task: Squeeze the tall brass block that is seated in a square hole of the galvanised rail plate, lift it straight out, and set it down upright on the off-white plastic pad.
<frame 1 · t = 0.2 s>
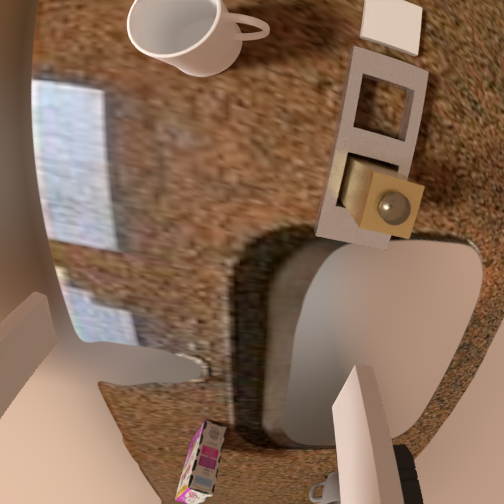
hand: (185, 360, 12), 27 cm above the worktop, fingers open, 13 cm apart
rail plate: (370, 148, 33), on the worktop
brass block: (362, 180, 35), resting in rail plate
candy bar box: (207, 432, 58), on the worktop
pad: (391, 22, 26), on the worktop
mug 2: (331, 474, 64), on the worktop
mug: (219, 44, 30), on the worktop
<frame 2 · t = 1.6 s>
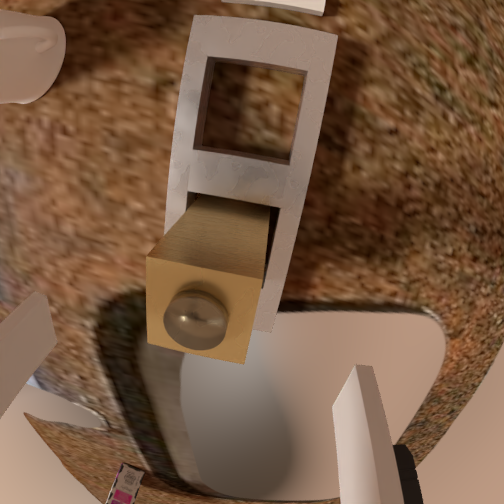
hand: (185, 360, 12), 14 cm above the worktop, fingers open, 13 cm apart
rail plate: (240, 177, 22), on the worktop
brass block: (232, 229, 24), resting in rail plate
candy bar box: (130, 472, 48), on the worktop
mug: (45, 57, 19), on the worktop
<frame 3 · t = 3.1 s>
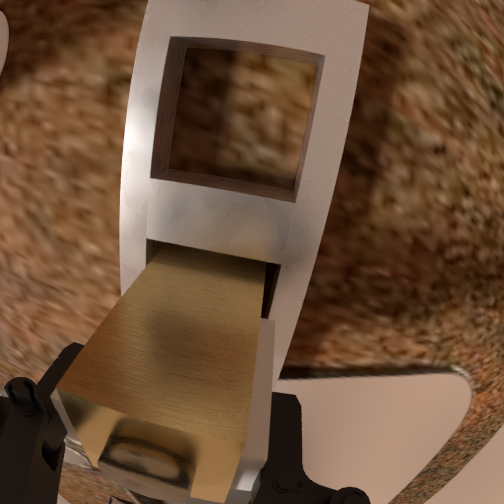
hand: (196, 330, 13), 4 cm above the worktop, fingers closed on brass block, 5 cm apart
rail plate: (224, 214, 16), on the worktop
brass block: (214, 283, 17), resting in rail plate, touching gripper
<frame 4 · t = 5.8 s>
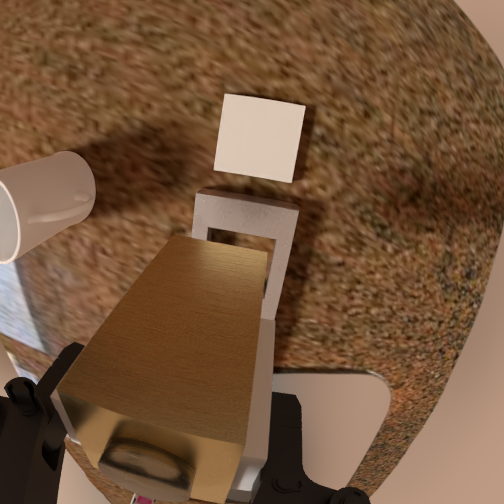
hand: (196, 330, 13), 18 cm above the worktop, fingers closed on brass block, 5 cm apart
rail plate: (234, 296, 33), on the worktop
brass block: (214, 284, 17), point 14 cm above the worktop, touching gripper
candy bar box: (149, 482, 57), on the worktop
pad: (259, 137, 27), on the worktop
mug: (78, 189, 30), on the worktop
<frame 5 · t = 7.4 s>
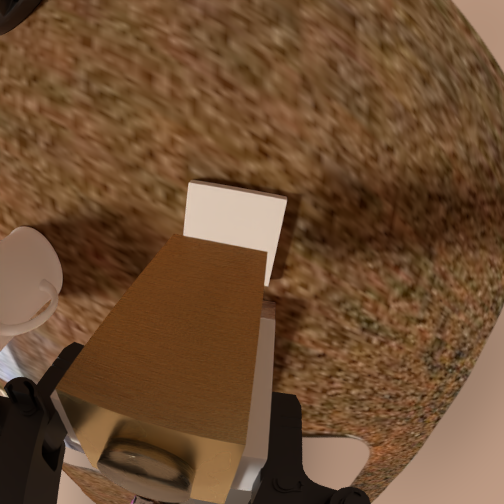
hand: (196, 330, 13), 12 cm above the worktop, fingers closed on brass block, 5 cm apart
brass block: (214, 283, 17), point 7 cm above the worktop, touching gripper
candy bar box: (141, 501, 56), on the worktop
pad: (231, 231, 24), on the worktop
mug: (45, 266, 27), on the worktop
when the fingers open (7 cm above the worktop, at t = 8.4 s): brass block drops 1 cm, resting on pad.
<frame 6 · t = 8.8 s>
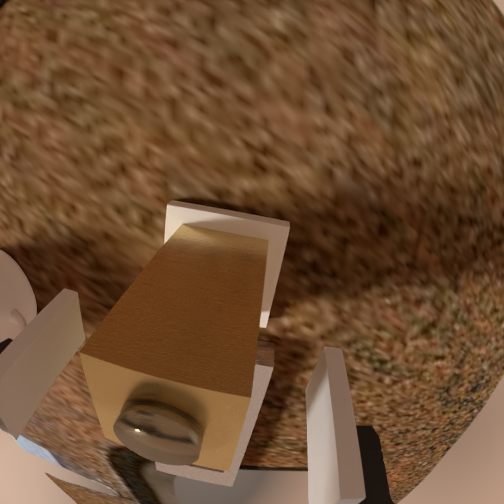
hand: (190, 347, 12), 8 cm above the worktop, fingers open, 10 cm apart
rail plate: (202, 416, 26), on the worktop
brass block: (219, 270, 19), point 1 cm above the worktop, touching pad
pad: (221, 263, 20), on the worktop
mug: (19, 291, 23), on the worktop
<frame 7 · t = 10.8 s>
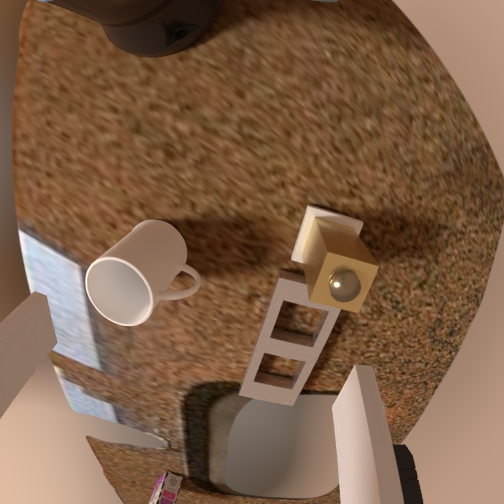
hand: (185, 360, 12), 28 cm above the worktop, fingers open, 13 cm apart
rail plate: (287, 342, 44), on the worktop
brass block: (327, 241, 37), point 1 cm above the worktop, touching pad
candy bar box: (169, 477, 67), on the worktop
pad: (326, 238, 38), on the worktop
mug: (168, 252, 41), on the worktop
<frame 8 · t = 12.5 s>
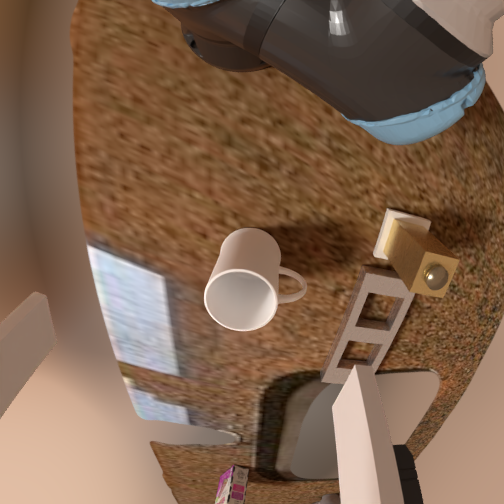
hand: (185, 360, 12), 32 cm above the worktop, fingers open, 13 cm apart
rail plate: (365, 328, 48), on the worktop
brass block: (403, 239, 40), point 1 cm above the worktop, touching pad
candy bar box: (233, 471, 73), on the worktop
pad: (401, 236, 41), on the worktop
mug 2: (325, 496, 79), on the worktop
mug: (261, 257, 45), on the worktop
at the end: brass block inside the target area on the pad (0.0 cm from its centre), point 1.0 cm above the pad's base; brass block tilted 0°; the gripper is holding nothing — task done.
